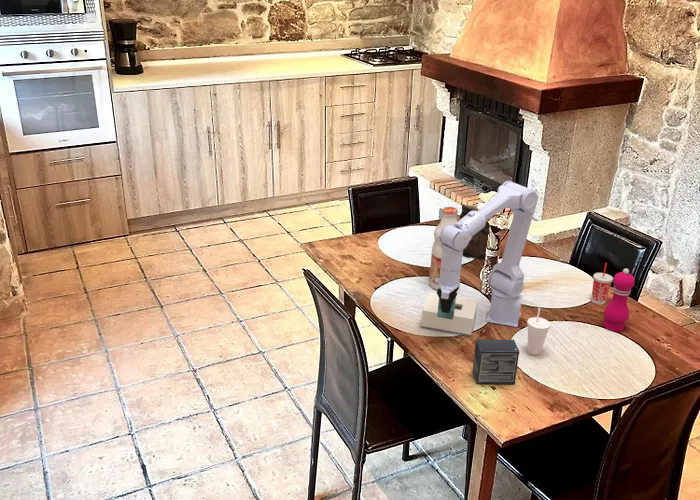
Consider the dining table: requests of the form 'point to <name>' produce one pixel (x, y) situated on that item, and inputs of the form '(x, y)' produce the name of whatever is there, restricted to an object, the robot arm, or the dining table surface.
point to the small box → (495, 361)
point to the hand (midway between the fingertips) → (446, 309)
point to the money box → (458, 325)
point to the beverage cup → (601, 287)
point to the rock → (475, 237)
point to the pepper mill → (619, 302)
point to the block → (446, 315)
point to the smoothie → (537, 333)
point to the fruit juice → (446, 220)
